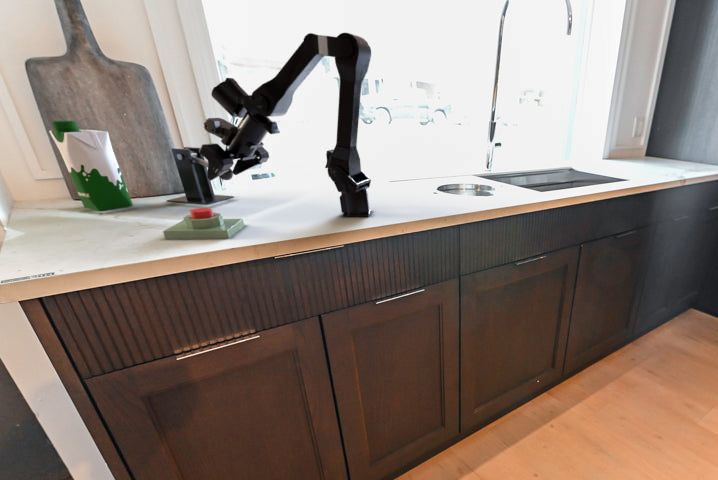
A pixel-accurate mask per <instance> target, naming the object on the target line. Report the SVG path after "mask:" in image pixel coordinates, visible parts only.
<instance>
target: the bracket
mask: <svg viewBox="0 0 718 480" xmlns="http://www.w3.org/2000/svg"><path fill="white" fill-rule="evenodd" d="M200 148H201V147H191V146H183V148H175V147H174V148H171V153H172V156H173V160H174V163H175V166H176V170H177V172H178V175H179V178H180V182H181V185H182V188H183V192H184V195H183V196H179V197H174V198H170V199H166V202H167V203H179V204H180V203H181V204H191V205H192V204H193V205H207V206H208V205H213V204H216V203H219V202H223V201H227V200H230V199H233V198H235V196H234V195H223V194H215V192H214V188H213V186H212V185H213V184H212V182H211V181H212V180H209V179H208V178H207V173H208V167H206V166H203V165H201V164H199V163H197V162H193V160H192V156H191V153H190V150H191V151H193V152H195V153H197V157H198V158H200V159H202V160H204V161H206V160H205V157H204V156H203V155H202V154H201V153H200V152H199V149H200Z"/></svg>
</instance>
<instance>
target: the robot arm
mask: <svg viewBox="0 0 718 480" xmlns="http://www.w3.org/2000/svg"><path fill="white" fill-rule="evenodd" d="M324 57H332V58H334V64H335V67H336V70H337V73H338V76H339V90H338V91H339V92H338V105H337V106H338V108H337V125H336V126H337V127H336V143H335V146H334V148H333V149H328V150H326V154H325V156H326V163H325V166H324V168H325V169H327V175H328V178H330V180H331V181H332V182H333V183H334V185H335V188H336V190H337V192H338V193H340V195H339V203H340V204H339V205H340V211H341V213H342V217H370V215H371V212H372V209H371V208H370V200H369V190H368V188H369V189H370V187H371V182H372V180H371V177H369V176H368V175H367V174H366V173H365V172H364V171H363V170H362V165H361V158H360V154H359V151H358V148H357V144H358V133H359V132H358V131H359V120H360V106H361V94H362V85H363V81H364V79H365V77H366V75H367V74H368V71H369V68H370V67H369V66H370V63H371V58H372V49H371V46H370V45H369V42H368V41H367V40H366V39H365V38H363V37H361V36H359V35H355V34H353V33H349V32H342V33H341V32H340V33H339V34H338V35H337V36H331V35H323V34H322V35H321V34H316V33H313V32H310V33H307V34H306V35H304V37H303V40H302V42H301V43H300V45H298V47H297V48H296V50H294V52H293V53H292V54H291V56H290V57H289V58H288V60H287V61H286V62H285V63H284V64H283V66H282V67H281V68H280V70H279V71H278V72H277V74H276V75H275V76H274V77H273V78H271V79H270V80H267V81H266V82H263V83H262V84H261V85H259V86H258V87H257V88H256V89H255V90H253V91H252V93H251V94H248V93H247V92H246V90H244V89H243V88H242V86H240V84H239V83H238V82H237V81H236V80H235V79H234V78H233V77H225V80H223V81H221V82H220V83H218V84H217V85H216V86H214V87H213V88H212V90H211V97H212V98H213V99H214V100H215V101H216V102H217V103H218V105H220V106H221V107H222V108H223V109H224V110H225V111H226V112H227V114H229V115H230V117H232V118H239V119H241V120H240V122H239V123H238V124H237V126H236V124H233V123H232V122H229V121H227V120H226V119H223V118H221V117H208V118H205V121H204V122H203V128H204V130H205V131H206V132H207V133H208V134H212V135H214V136H215V137H217V138H219V139H221V140H220V142H221V143H222V144H223V145H224V146H226V148H227V149H226V150H225V149H224V148H223V147H222V146H221V145H219V144H218V143H214V142H213V143H205V144H204V143H203V144H201V146H200V147H199V148H200V149H199V152H200V153H201V154H202V155H203V156H204V159H206V160H207V162H208V167H207V170H208V173H207V178H208V179H209V180H210V181H214V180H215V179H217V178H220V177H219V176H220V175H222V174H224V173H226V172H227V171H229V170H230V169H232V167H233V169H232V172H233V176H238V175H240V174H242V173H244V172H246V171H248V170H251V169H253V168H255V167H258V166H260V165H262V164H263V163H267V162H268V160H269V159H270V154H269V151H268V150H267V149H266V148H264V143H263V142H262V141H263V140H264V139H265V137H266V136H267V134H268V133H269V134H270V135H276V134H280V133H281V131H280V128H279V126H278V122H277V121H274V120H273V121H272V119H270V118H271V117H283V116H285V115H286V114H287V112H288V110H289V109H290V107H291V105H292V103H293V100H294V99H293V98H294V94H295V92H296V91H297V89H298V88H299V87H300V86H301V85H302V83H304V81H305V80H306V79H307V78H308V76H309V75H310V74H311V73H312V71H313V70H314V69H315V68H316V67H317V66H318V64H319V63H320V62H321V61H322V59H323V58H324ZM234 161H236V162H235V164H234ZM229 168H230V169H229Z"/></svg>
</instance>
